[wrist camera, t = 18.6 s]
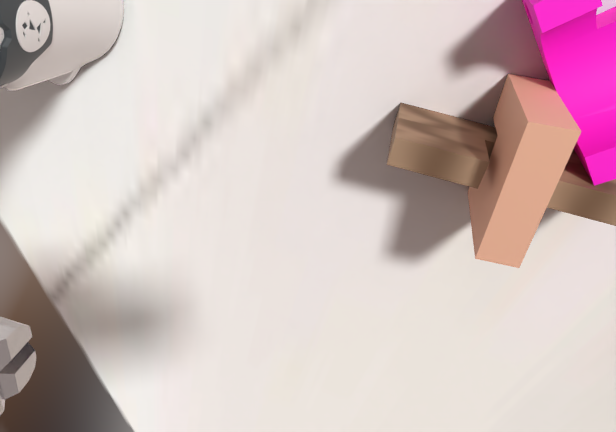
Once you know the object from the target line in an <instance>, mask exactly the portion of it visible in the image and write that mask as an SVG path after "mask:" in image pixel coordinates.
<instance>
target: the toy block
mask: <svg viewBox="0 0 616 432" xmlns="http://www.w3.org/2000/svg"><path fill="white" fill-rule="evenodd" d="M522 2H523V5H524V7H525V10H526V13H527V16H528V19H529V22H530V25H531V28H532V30H533V33H534V36H535V39H536V42H537V45H538V48H539V51H540V53H541V56H542V59H543V62H544V65H545V68H546V71H547V74H548V77H549V79H550V82H551V84H552V85H553V87H554V88H555V90H556V92H557V93H558V95H559V96H560V98H561V100H562V101H563V103H564V104H565V106H566V108H567V109H568V111H569V112H570V114H571V116H572V117H573V119H574V120H575V122H576V124H577V125H578V127H579V128H580V130H581V133H580V136H579V138H578V140H577V142H576V144H575V147H574V150H575V152H576V153H577V155H578V157H579V159H580V161H581V163H582V164H583V166H584V168H585V170H586V172H587V173H588V175H589V177H590V179H591V181H592V182H593V184H594V186H595V185H598V184H601V183H604V182H607V181H611V180H614V179H616V7H613V8H611V9H609V10H607V11H605V12H603V13H600V14H598V15H596V11H597V8H598V7H600V6H602V2H601V0H522Z"/></svg>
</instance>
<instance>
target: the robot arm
mask: <svg viewBox="0 0 616 432" xmlns="http://www.w3.org/2000/svg"><path fill="white" fill-rule="evenodd" d="M123 13H124V0H0V89H1V88H3V87H5V88H6V89H7V90H9V91H15V90H19V89H22V88H25V87H29V86H32V85H35V84H38V83H41V82H43V81H46V80H47V81H49V82H51V83H53V84H56V85H63V84H66V83H69V82H70V81H72V80H73V78H74V77H75V76H76V74H77V73H78V71H79V70H80V68H81V67H82V66H83V65H85V64H87V63H89V62H91V61H94V60H96V59H98V58H100V57H101V56H102V55H104V54H105V53H106V52H107V51H108V50H109V49H110V48H111V47H112V45H113V44H114V42H115V41H116V39H117V37H118V35H119V32H120V29H121V26H122V21H123ZM31 337H32V333H31V329H30V326H28V325H25V324H22V323H18V322H15V321H12V320H9V319H6V318H3V317H0V415H1V414H2V413H3V412H4V404H5V399H7V398H9V397H11V396H13V395H15V394H18V393H19V392H20V391H21V390H22V389H23V387H24V386H25V385H26V383H27V382H28V381H29V379H30V377H31V374H32V373H33V371H34V369H35V364H36V353H35V350H34V349H33V347H32V346H31V345H30V344H29V343H28V341H29V340H30V339H31Z"/></svg>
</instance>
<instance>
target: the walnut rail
mask: <svg viewBox="0 0 616 432" xmlns="http://www.w3.org/2000/svg"><path fill="white" fill-rule="evenodd" d="M497 136H498V135H497V131H496V128H495V127H493V126H489V125H485V124H481V123H477V122H473V121H469V120H466V119H462V118H458V117H454V116H450V115H446V114H442V113H439V112H435V111H431V110H427V109H423V108H419V107H415V106H411V105H408V104H404V103H400V106H399V110H398V113H397V116H396V119H395V123H394V126H393V131H392V136H391V142H390V148H389V154H388V160H387V165H390V166H394V167H398V168H402V169H405V170H409V171H413V172H417V173H420V174H424V175H428V176H431V177H435V178H439V179H443V180H446V181H450V182H454V183H458V184H461V185H465V186H469V187H473V188H476V189H478V187H479V185H480V183H481V180H482V178H483V176H484V174H485V171H486V169H487V167H488V165H489V163H490V162H489V159H490V156H491V153H492V150H493V147H494V144H495V142H496V139H497ZM547 208H551V209H555V210H558V211H562V212H566V213H570V214H573V215H577V216H581V217H585V218H588V219H592V220H596V221H599V222H603V223H607V224H611V225H614V226H616V179H614V180H611V181H607V182H604V183H601V184H598V185H595V186H594V184H593V182H592V181H591V179H590V177H589V175H588V173H587V172H586V170H585V168H584V166H583V164H582V163H581V161H580V159H579V157H578V155H577V153H576V152H575V150H574V149H573V151H572V153H571V155H570V158H569V160H568V162H567V164H566V166H565V169H564V171H563V173H562V175H561V177H560V179H559V182H558V184H557V186H556V188H555V190H554V193H553V195H552V197H551V199H550V201H549V204H548V206H547Z"/></svg>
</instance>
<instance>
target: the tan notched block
mask: <svg viewBox="0 0 616 432" xmlns="http://www.w3.org/2000/svg"><path fill="white" fill-rule="evenodd" d="M493 120H494V124H495V128H496V131H497V135H498V136H497V139H496V142H495V144H494V147H493V150H492V153H491V156H490V159H489V162H490V163H489V165H488V167H487V169H486V171H485V174H484V176H483V178H482V180H481V183H480V185H479V187H478V189H476V188H473V187H469V189H468V200H469V209H470V217H471V226H472V234H473V243H474V252H475V259H480V260H484V261H489V262H494V263H498V264H503V265H508V266H512V267H517V268H519V267H520V265H521V263H522V261H523V258H524V256H525V254H526V252H527V250H528V247H529V245H530V243H531V241H532V239H533V236H534V234H535V232H536V230H537V228H538V225H539V223H540V221H541V219H542V217H543V215H544V212H545V210H546V208H547V206H548V204H549V201H550V199H551V197H552V195H553V193H554V190H555V188H556V186H557V184H558V182H559V179H560V177H561V175H562V173H563V171H564V169H565V166H566V164H567V162H568V160H569V158H570V155H571V153H572V151H573V149H574V147H575V144H576V142H577V140H578V138H579V136H580V133H581V130H580V128H579V127H578V125H577V124H576V122H575V120H574V119H573V117H572V116H571V114H570V112H569V111H568V109H567V108H566V106H565V104H564V103H563V101H562V100H561V98H560V96H559V95H558V93H557V92H556V90H555V88H554V87H553V85H552V84H551V82H550V81H547V80H542V79H536V78H530V77H524V76H519V75H513V74H508V76H507V78H506V81H505V84H504V87H503V90H502V93H501V96H500V99H499V102H498V105H497V108H496V111H495V114H494V116H493Z"/></svg>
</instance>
